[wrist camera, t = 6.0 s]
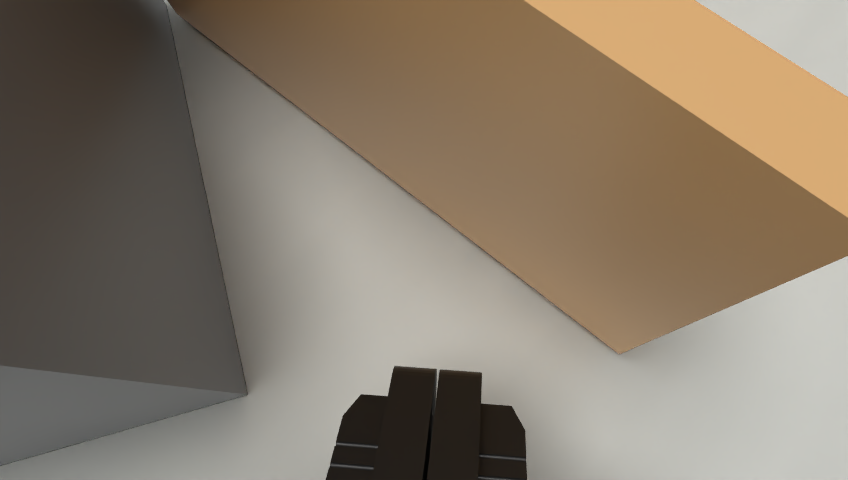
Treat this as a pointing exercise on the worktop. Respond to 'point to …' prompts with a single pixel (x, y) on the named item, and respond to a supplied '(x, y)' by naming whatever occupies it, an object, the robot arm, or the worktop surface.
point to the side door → (575, 139)
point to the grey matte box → (102, 230)
